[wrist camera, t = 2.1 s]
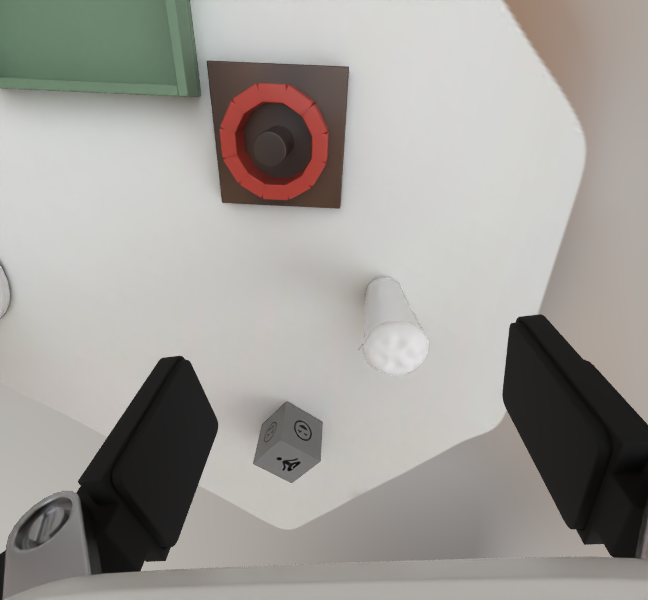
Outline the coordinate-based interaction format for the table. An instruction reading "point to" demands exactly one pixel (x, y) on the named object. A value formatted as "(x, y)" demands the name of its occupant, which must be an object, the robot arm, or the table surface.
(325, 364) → the table surface
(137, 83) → the tray
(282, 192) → the ring
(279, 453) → the dice cube
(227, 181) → the ring holder
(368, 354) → the milkshake
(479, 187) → the table surface
